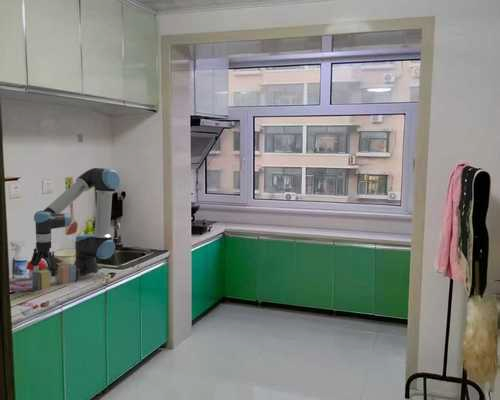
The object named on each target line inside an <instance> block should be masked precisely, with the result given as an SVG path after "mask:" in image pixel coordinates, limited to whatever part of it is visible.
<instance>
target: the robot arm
mask: <svg viewBox="0 0 500 400" xmlns="http://www.w3.org/2000/svg"><path fill="white" fill-rule="evenodd" d="M120 184H121V177H120V175H119V173H118V171H116V170H115V169H112V168H102V167H93V168H90V169H88V170H86V171H84V172H83V173H81V175H79V176H78V177H77V178H76V179H75V182H73V184H71V185H70V186H69V187H68V188H67V189H66V190H65V191H64V192H63V193H61V194H60V195H59V196H58V197H57V198H56V199H54V200H53V201H52V202H51V203H50V204H49V205H48V206H47V207H46V208H44V209H43V210H38V211H36V212H35V213H34V216H33V220H34V222H35V241H36V242H35V248H33V253H32V257H31V260H30V261H31V263H30V264H32V265H33V269H34V270H33V271H34V272H36V273H37V272H38V271H39V266H37V265H38V264H39V262H40V260H43V261H45V263H46V265H47V267H48V268H49V270H48V271H49V280H50V284H51V283H55V282H56V270H57V271H58V267H59V266H58V264H57V261H56V257H55V252H54V250H53V251H51V250H50V249H51V248H52V230H53V229H60V228H67V227H69V226H70V225H71V224H72V217H71V215H70V214H69V213H64V211H65V210H67V208H68V207H69V206H70V205H71V204H73V202H75V201H76V200H77V199H78V198H80V197H81V195H83V193H85V192H88V191H89V190H91V189H93V188H94V191H95V192H96V193H97V196H96V207H95V208H96V209H95V210H96V211H95V225H94V233H87V234H80V235H77V236H76V237H75V241H74V242H75V245H74V246H75V247H74V248H75V260H74V263H73V265H76V268H78V269H79V274H81V273H82V274H87V273H92V274H95V273H97V272H99V266H98V263H97V259H100V260H101V259H102V260H106V259H107V260H108V259H109V258H111V257H112V255H114V253H115V250H116V243H114V240H113V236H112V235H111V233H110V232H111V231H110V230H111V217H112V205H113V204H112V202H113V194H115V193H116V189H118V187H119V186H120ZM96 258H97V259H96ZM33 261H34V262H33Z"/></svg>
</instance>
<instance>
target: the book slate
mask: <svg viewBox="0 0 500 400" xmlns="http://www.w3.org/2000/svg"><path fill="white" fill-rule="evenodd" d="M63 266H67V267H70V283H75V282H74V281H76V265H74V264H71V263H70V264H65V265H63ZM76 282H77V281H76Z"/></svg>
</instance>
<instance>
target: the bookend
mask: <svg viewBox="0 0 500 400" xmlns="http://www.w3.org/2000/svg"><path fill="white" fill-rule="evenodd" d="M31 283H32V284H31V285H32V286H31V287H30V288H28V289H27V291H31V292H38V291H40V290H41V289H40V273H36V272H32V282H31Z"/></svg>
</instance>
